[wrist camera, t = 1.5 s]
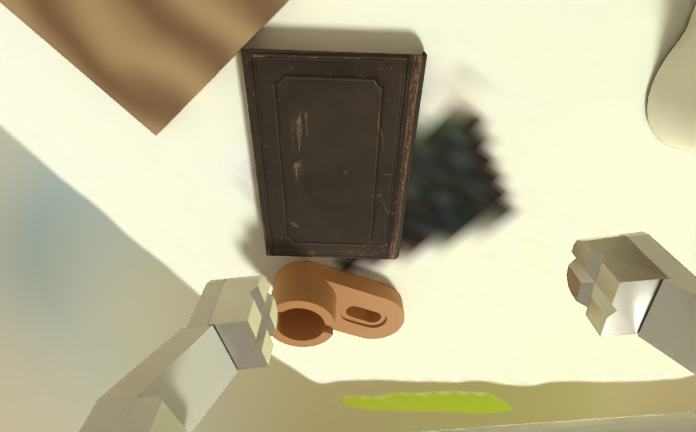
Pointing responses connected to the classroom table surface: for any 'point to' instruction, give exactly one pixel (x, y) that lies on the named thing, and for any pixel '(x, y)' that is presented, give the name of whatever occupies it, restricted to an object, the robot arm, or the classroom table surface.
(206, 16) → the board
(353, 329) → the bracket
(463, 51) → the classroom table surface
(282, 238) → the hardcover book
